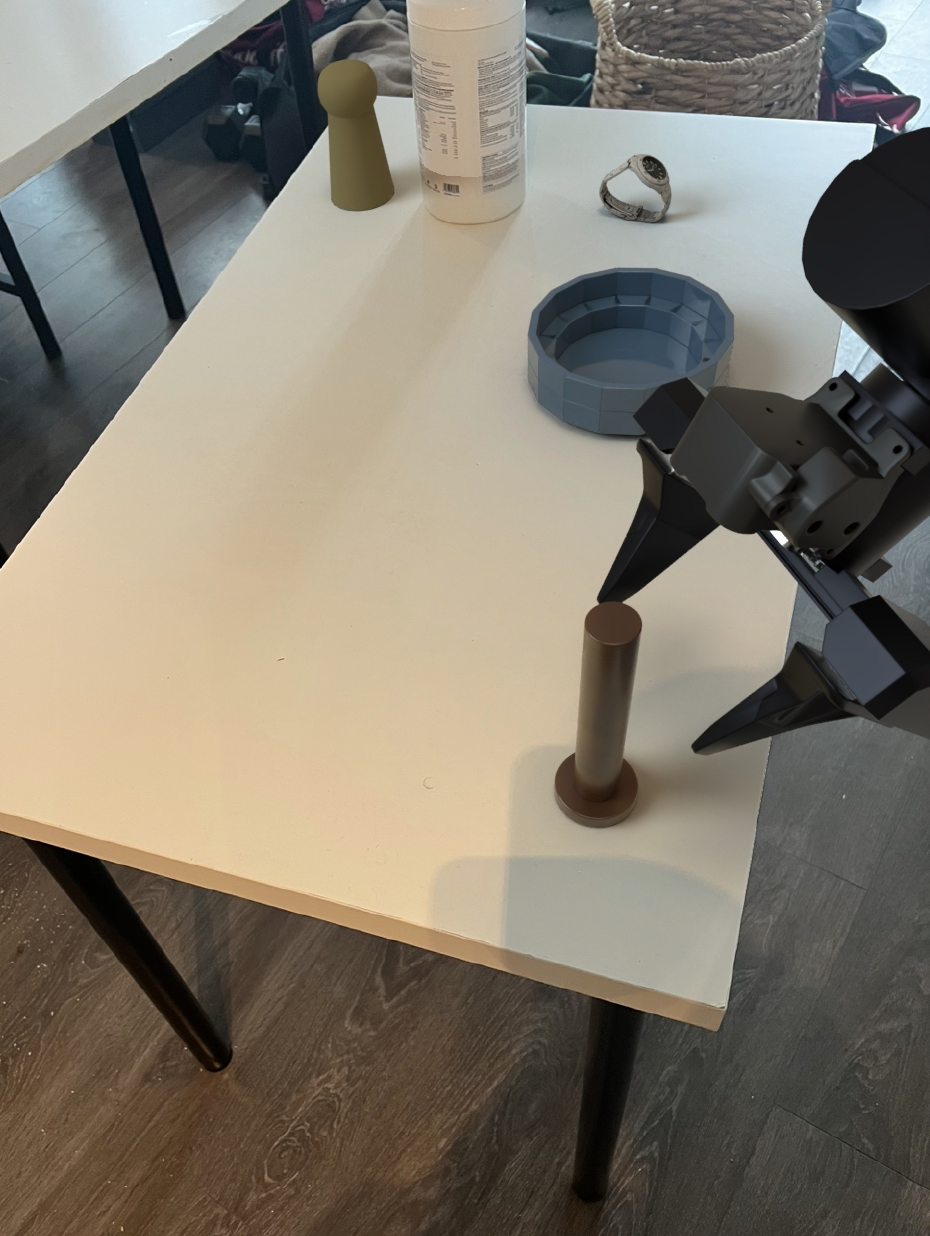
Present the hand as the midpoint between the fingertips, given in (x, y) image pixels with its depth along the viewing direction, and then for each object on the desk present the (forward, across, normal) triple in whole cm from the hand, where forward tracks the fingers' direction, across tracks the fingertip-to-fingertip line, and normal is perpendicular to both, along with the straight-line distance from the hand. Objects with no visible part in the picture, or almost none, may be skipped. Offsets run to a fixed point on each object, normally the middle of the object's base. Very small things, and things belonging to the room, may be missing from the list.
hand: (647, 674), depth 45 cm
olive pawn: (+2, -66, +11) cm, 67 cm away
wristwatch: (-12, -51, +25) cm, 58 cm away
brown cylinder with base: (+8, 0, +5) cm, 10 cm away
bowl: (-4, -31, +18) cm, 36 cm away
